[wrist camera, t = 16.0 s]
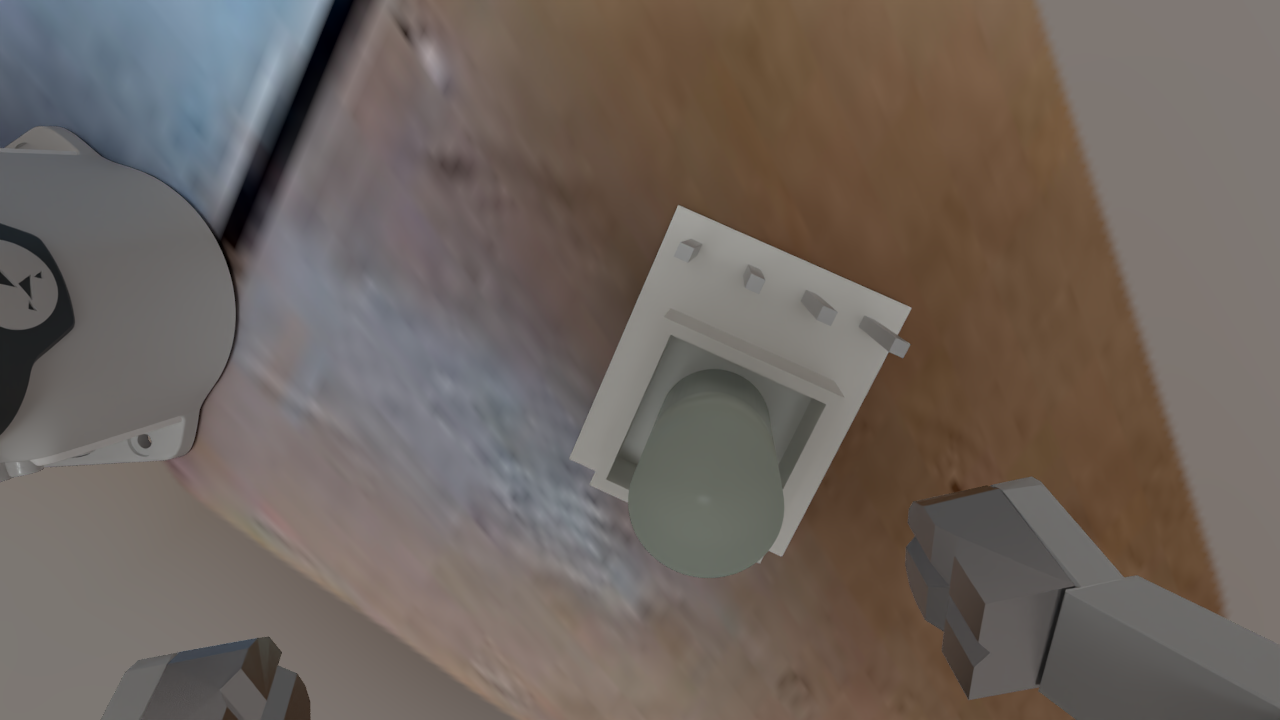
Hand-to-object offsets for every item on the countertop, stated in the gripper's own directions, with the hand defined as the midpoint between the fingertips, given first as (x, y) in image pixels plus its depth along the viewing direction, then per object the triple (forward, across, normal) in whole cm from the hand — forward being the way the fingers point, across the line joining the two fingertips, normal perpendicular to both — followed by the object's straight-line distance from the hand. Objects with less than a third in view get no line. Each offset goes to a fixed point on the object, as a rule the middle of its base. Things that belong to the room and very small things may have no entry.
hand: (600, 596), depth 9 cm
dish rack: (+23, -6, +15) cm, 28 cm away
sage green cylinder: (+22, -5, +16) cm, 28 cm away
